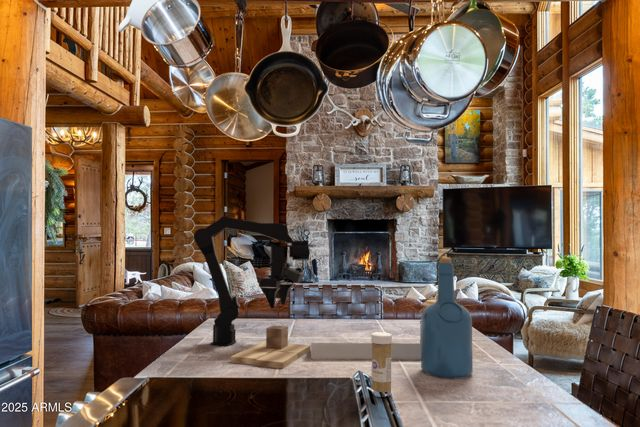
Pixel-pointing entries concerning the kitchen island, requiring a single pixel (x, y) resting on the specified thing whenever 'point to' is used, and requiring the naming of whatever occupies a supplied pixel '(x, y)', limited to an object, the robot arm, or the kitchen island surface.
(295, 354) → the laid row
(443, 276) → the wine bottle
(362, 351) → the decorative molding
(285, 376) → the kitchen island surface
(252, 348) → the plank
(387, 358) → the sprinkles bottle
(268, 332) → the block
